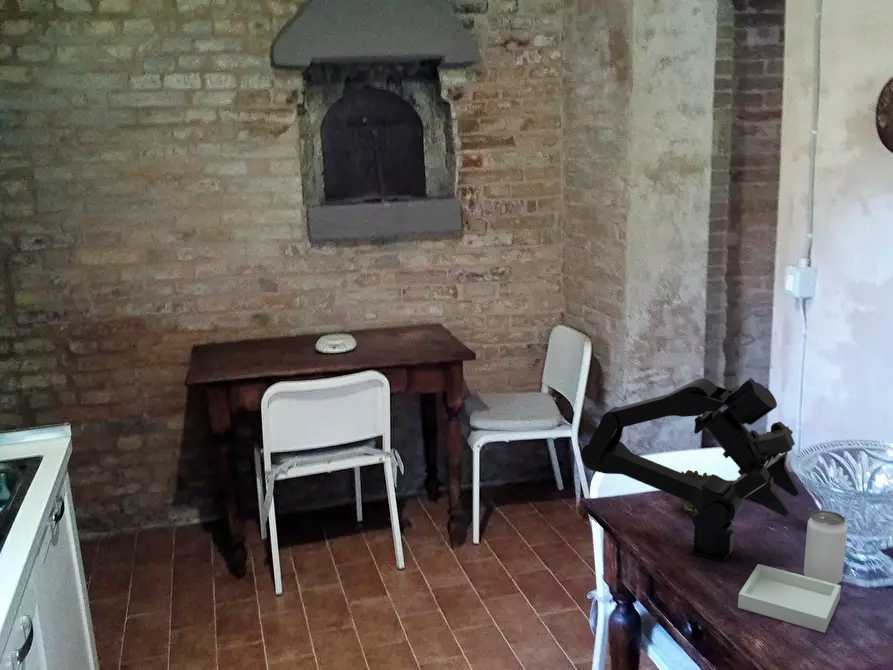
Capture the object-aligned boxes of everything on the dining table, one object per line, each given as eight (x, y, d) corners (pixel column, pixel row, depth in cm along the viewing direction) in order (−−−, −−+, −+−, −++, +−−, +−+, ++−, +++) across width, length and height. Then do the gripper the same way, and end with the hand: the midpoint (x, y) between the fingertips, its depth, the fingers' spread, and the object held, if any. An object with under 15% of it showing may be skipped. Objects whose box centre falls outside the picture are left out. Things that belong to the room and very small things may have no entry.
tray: (737, 607, 145) (738, 593, 144) (757, 576, 154) (758, 563, 154) (824, 632, 137) (826, 618, 136) (839, 598, 147) (840, 585, 146)
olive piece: (668, 512, 181) (669, 478, 179) (683, 500, 186) (685, 467, 184) (701, 522, 176) (703, 486, 174) (716, 509, 181) (718, 475, 179)
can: (824, 565, 158) (829, 506, 155) (850, 582, 152) (856, 521, 149) (795, 572, 156) (800, 512, 153) (821, 589, 150) (826, 527, 147)
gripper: (755, 429, 145) (819, 502, 142) (778, 398, 160) (836, 463, 157) (707, 463, 151) (767, 533, 148) (733, 430, 166) (789, 494, 163)
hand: (792, 504), depth 154 cm, fingers open, 9 cm apart
